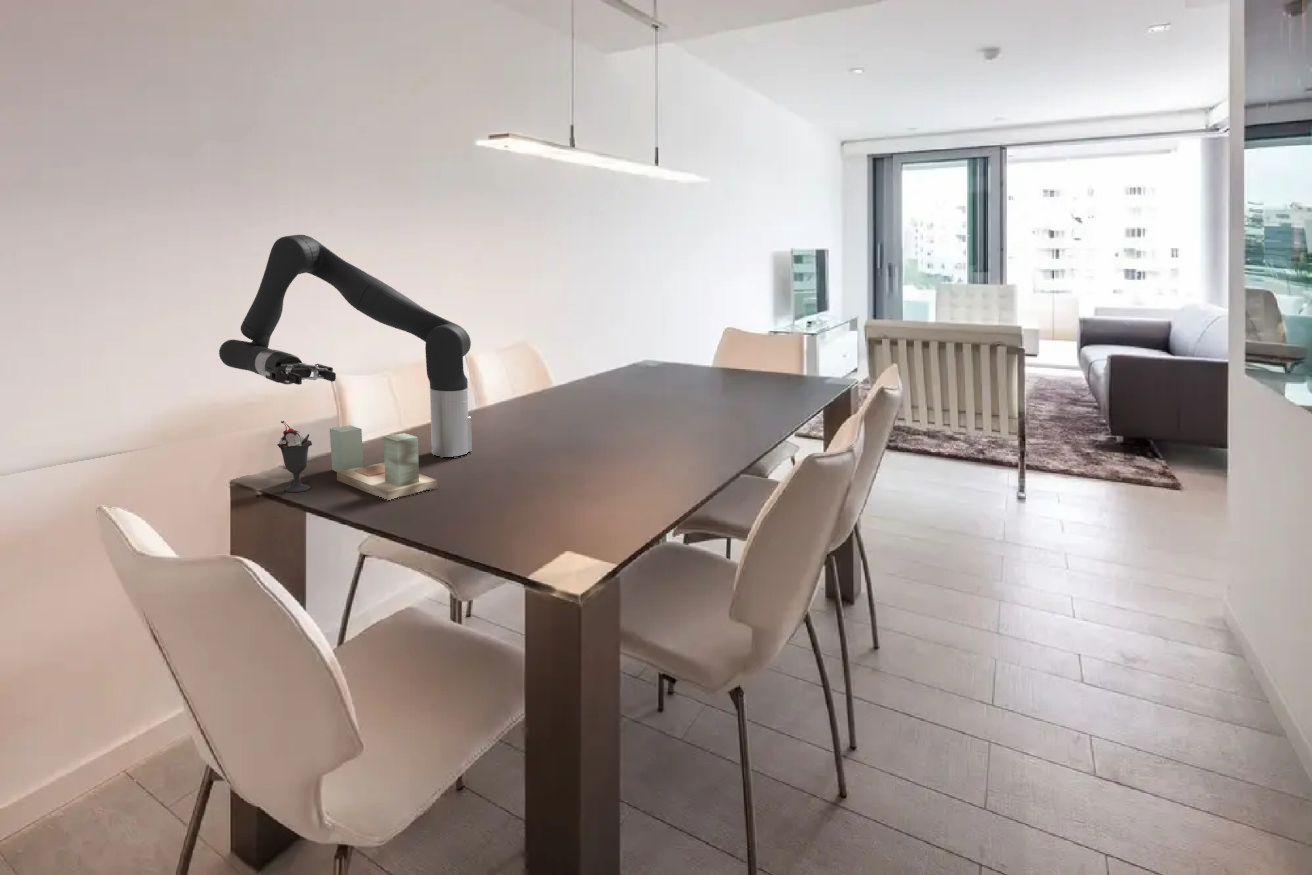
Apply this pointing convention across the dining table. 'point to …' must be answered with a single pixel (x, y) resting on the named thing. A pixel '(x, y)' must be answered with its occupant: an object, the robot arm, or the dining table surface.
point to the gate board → (381, 484)
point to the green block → (346, 448)
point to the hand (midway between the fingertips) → (317, 378)
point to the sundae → (295, 456)
